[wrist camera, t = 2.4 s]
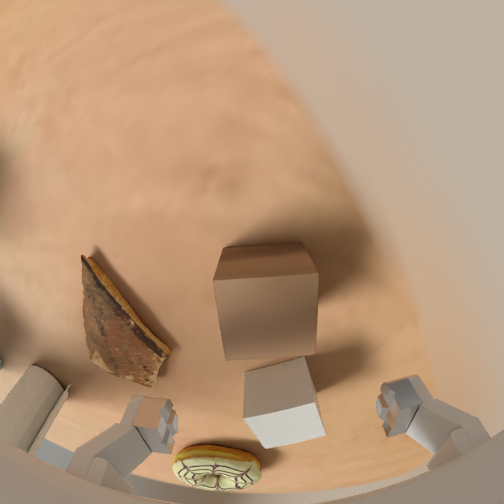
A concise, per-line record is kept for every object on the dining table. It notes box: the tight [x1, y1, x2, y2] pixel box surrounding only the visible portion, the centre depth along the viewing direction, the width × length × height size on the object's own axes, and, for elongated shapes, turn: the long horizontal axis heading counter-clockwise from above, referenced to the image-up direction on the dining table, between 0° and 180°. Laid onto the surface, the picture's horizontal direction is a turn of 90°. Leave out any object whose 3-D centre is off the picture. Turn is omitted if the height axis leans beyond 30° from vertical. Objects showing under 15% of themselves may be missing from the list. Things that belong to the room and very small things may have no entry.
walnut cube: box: [213, 242, 319, 361], centre depth 16 cm, size 5×5×5 cm
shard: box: [81, 255, 171, 387], centre depth 19 cm, size 11×8×2 cm
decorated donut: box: [173, 445, 262, 491], centre depth 25 cm, size 10×11×4 cm
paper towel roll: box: [0, 366, 71, 456], centre depth 13 cm, size 7×6×21 cm
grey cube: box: [243, 357, 326, 449], centre depth 19 cm, size 5×5×5 cm
